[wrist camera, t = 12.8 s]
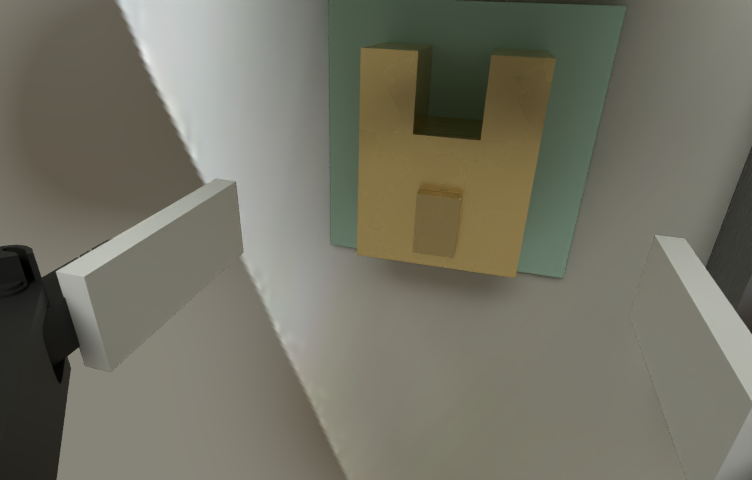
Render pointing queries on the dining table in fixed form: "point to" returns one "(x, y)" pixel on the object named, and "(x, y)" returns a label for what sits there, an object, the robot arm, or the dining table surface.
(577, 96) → the mat
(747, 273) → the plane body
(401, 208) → the lever cap
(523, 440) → the dining table surface
